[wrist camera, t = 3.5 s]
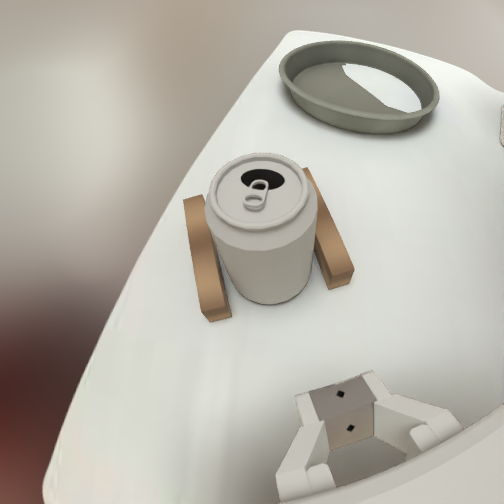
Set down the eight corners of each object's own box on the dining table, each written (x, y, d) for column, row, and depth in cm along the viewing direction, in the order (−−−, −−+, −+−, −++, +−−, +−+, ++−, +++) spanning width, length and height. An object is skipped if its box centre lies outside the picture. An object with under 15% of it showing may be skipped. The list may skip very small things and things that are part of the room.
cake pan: (435, 165, 34) (446, 139, 30) (257, 121, 41) (253, 95, 37) (429, 80, 44) (433, 60, 40) (303, 52, 51) (302, 32, 47)
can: (316, 241, 30) (325, 150, 20) (302, 314, 27) (309, 245, 17) (242, 230, 32) (219, 140, 21) (221, 298, 29) (180, 225, 18)
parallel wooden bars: (348, 283, 28) (354, 269, 25) (210, 322, 28) (201, 311, 25) (307, 186, 34) (307, 167, 31) (191, 216, 34) (183, 199, 31)
